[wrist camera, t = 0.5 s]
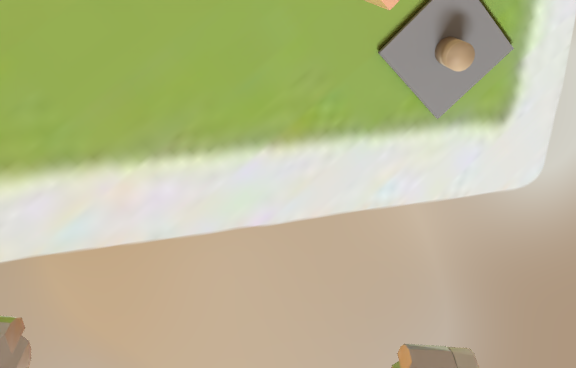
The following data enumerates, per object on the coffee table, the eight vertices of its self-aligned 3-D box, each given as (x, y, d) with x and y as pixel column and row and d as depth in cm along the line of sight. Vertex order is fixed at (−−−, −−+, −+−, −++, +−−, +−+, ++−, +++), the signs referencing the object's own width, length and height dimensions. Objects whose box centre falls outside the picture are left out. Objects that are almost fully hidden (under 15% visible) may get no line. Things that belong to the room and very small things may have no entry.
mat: (377, 52, 52) (379, 53, 52) (457, -28, 50) (459, -28, 49) (435, 117, 57) (437, 118, 56) (511, 47, 55) (513, 48, 54)
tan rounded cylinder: (435, 38, 52) (448, 44, 49) (462, 35, 52) (476, 40, 50) (433, 66, 53) (446, 73, 51) (459, 62, 54) (473, 69, 51)
